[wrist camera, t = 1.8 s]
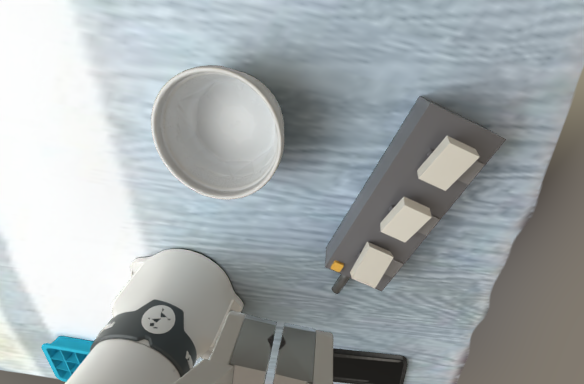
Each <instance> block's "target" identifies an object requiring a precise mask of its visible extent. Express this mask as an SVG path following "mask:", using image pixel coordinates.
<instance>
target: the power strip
mask: <svg viewBox="0 0 584 384" xmlns="http://www.w3.org/2000/svg"><path fill="white" fill-rule="evenodd" d="M446 136H449V137H451V138H453V139H456V140H458V141H460V142H462V143H464V144H466V145H468V146H470V147H472V148H474V149H476V151H477V153H478V155H479V158H478V159H477V160H476V161H475V162H474V163H473V164H472V165H471V166H470V167H469V168H468V169H467V170H466V171H465V172H464V173H463V174H462V175H461V176H460V177H459V178H458V179H457V180H456V181H455V182H454V183H453V184H452V185H451V186H450V187H449V188H448V189H447V190H446V191H444V190H442V189H440V188H438V187H436V186H433V185H431V184H429V183H427V182H425V181H423V180H421V179H418V174H417V170H418V169H419V168H420V166H421V165H422V164H423V163H424V162H425V161H426V159H427V158H428V157H429V156H430V155H431V154H432V152H433V151H434V150H435V149H436V148H437V147H438V145H439V144H440V143H441V142H442V141H443V139H444V138H445V137H446ZM505 140H506V139H504V138H502V137H501V136H499V135H497V134H495V133H493V132H492V131H490V130H488V129H486V128H484V127H482V126H480V125H478V124H476V123H474V122H472V121H470V120H468V119H466V118H464V117H461V116H459V115H457V114H455V113H453V112H451V111H449V110H447V109H445V108H443V107H441V106H439V105H437V104H434V103H432V102H430V101H428V100H426V99H424V98H422V97H420V96H419V98H418V100H417V101H416V103H415V104H414V106H413V108H412V109H411V111H410V113H409V114H408V116H407V117H406V119H405V121H404V122H403V124H402V125H401V127H400V129H399V130H398V132H397V134H396V135H395V137H394V138H393V140H392V142H391V143H390V145H389V147H388V148H387V150H386V151H385V153H384V155H383V156H382V158H381V159H380V161H379V163H378V164H377V166H376V168H375V169H374V171H373V172H372V174H371V176H370V177H369V179H368V180H367V182H366V184H365V185H364V187H363V189H362V190H361V192H360V193H359V195H358V197H357V198H356V200H355V202H354V203H353V205H352V206H351V208H350V210H349V211H348V213H347V214H346V216H345V218H344V219H343V221H342V223H341V224H340V226H339V227H338V229H337V231H336V232H335V234H334V235H333V237H332V239H331V240H330V242H329V244H328V245H327V247H326V258H325V267H326V268H329V269H331V270H333V271H336V272H338V273H340V274H341V275H340V277H339V278H338V280H337V281H336V283H335V284H334V286H333V287H332V291H333V292H334V293H336V294H338V293H339V292H340V291H341V290H342V288H343V287H344V285H345V284H346V283H347V281H348V280H349V278H352V277H351V274H350V271H351V270H352V268H353V266H354V264H355V263H356V261H357V259H358V257H359V255H360V254H361V252H362V250H363V248H364V247H365V245H366V243H367V242H370V243H372V244H374V245H376V246H379V247H381V248H383V249H386V250H388V251H390V252H391V254H392V255H393V257H394V258H393V259H392V261H391V263H390V264H389V266H388V268H387V269H386V271H385V273H384V274H383V276H382V278H381V279H380V281H379V283H378V284H377V286H376V288H375V289H378V290H380V291H382V290H383V289H384V288H385V287H386V285H387V284H388V283H389V282H390V281H391V279H392V278H393V277H394V276H395V274H396V273H397V272H398V271H399V270H400V268H401V267H402V266H403V265H404V263H405V262H406V261H407V260H408V259H409V257H410V256H411V255H412V254H413V252H414V251H415V250H416V249H417V248H418V246H419V245H420V244H421V243H422V241H423V240H424V239H425V238H426V237H427V235H428V234H429V233H430V232H431V230H432V229H433V228H434V227H435V225H436V224H437V223H438V222H439V221H440V219H441V218H442V217H443V216H444V214H445V213H446V212H447V211H448V210H449V208H450V207H451V206H452V205H453V203H454V202H455V201H456V200H457V199H458V197H459V196H460V195H461V194H462V192H463V191H464V190H465V189H466V188H467V186H468V185H469V184H470V183H471V181H472V180H473V179H474V178H475V177H476V175H477V174H478V173H479V172H480V170H481V169H482V168H483V167H484V166H485V164H486V163H487V162H488V161H489V159H490V158H491V157H492V156H493V155H494V153H495V152H496V151H497V150H498V148H499V147H500V146H501V145H502V144H503V142H504V141H505ZM403 197H406V198H408V199H411V200H413V201H415V202H417V203H419V204H422V205H424V206H426V207H428V208H430V212H431V217H432V218H431V219H429V220H428V221H427V222H426V223H425V224H424V225H423V226H422V227H421V228H420V229H419V230H418V231H417V232H416V233H415V234H414V235H413V236H412V237H411V238H410V239H409V240H407V241H406V242H403V241H400V240H398V239H396V238H394V237H391V236H389V235H387V234H385V233H382V232H381V228H380V223H381V222H382V220H383V219H384V218H385V217H386V216H387V215H388V214H389V213H390V211H391V210H392V209H393V208H394V207H395V206H396V205H397V203H398V202H399V201H400V200H401V199H402V198H403Z"/></svg>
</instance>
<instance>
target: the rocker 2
mask: <svg viewBox="0 0 584 384" xmlns="http://www.w3.org/2000/svg"><path fill="white" fill-rule="evenodd" d="M431 218H432V217H431V212H430V208H428V207H426V206H424V205H422V204H419V203H417V202H415V201H413V200H411V199H408V198H406V197H403V198H402V199H401V200H400V201H399V202H398V203H397V205H396V206H395V207H394V208H393V209H392V210H391V211H390V213H389V214H388V215H387V216H386V217H385V218H384V219H383V220H382V222H381V223H380V228H381V232H382V233H385V234H387V235H389V236H391V237H394V238H396V239H398V240H400V241H403V242H406V241H407V240H409V239H410V238H411V237H412V236H413V235H414V234H415V233H416V232H417V231H418V230H419V229H420V228H421V227H422V226H423V225H424V224H425V223H426V222H427V221H428V220H429V219H431Z"/></svg>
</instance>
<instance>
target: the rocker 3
mask: <svg viewBox="0 0 584 384" xmlns="http://www.w3.org/2000/svg"><path fill="white" fill-rule="evenodd" d="M478 158H479V155H478V153H477V151H476V149H474V148H472V147H470V146H468V145H466V144H464V143H462V142H460V141H458V140H456V139H453V138H451V137H449V136H446V137H445V138H444V139H443V141H442V142H441V143H440V144H439V145H438V147H437V148H436V149H435V150H434V151H433V152H432V154H431V155H430V156H429V157H428V158H427V159H426V161H425V162H424V163H423V164H422V165H421V166H420V168H419V169H418V170H417V174H418V179H421V180H423V181H425V182H427V183H429V184H431V185H433V186H436V187H438V188H440V189H442V190H444V191H446V190H447V189H448V188H449V187H450V186H451V185H452V184H453V183H454V182H455V181H456V180H457V179H458V178H459V177H460V176H461V175H462V174H463V173H464V172H465V171H466V170H467V169H468V168H469V167H470V166H471V165H472V164H473V163H474V162H475V161H476V160H477V159H478Z"/></svg>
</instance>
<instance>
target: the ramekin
mask: <svg viewBox="0 0 584 384" xmlns="http://www.w3.org/2000/svg"><path fill="white" fill-rule="evenodd" d="M151 129H152V136H153V140H154V143H155V146H156V149H157V151H158V153H159V155H160V157H161V159H162V161H163V162H164V164H165V165H166V167H167V168H168V169H169V171H170V172H171V173H172V174H173V175H174V176H175V177H176V178H177V179H178V180H179V181H180V182H181V183H183V184H184V185H185V186H187V187H188V188H190V189H192V190H193V191H195V192H197V193H199V194H202V195H204V196H207V197H211V198H216V199H237V198H242V197H245V196H248V195H250V194H252V193H254V192H256V191H258V190H259V189H260V188H262V187H263V186H264V185H265V184H266V183H267V182H268V181H269V180H270V179H271V177H272V176H273V174H274V173H275V171H276V169H277V168H278V166H279V164H280V161H281V158H282V155H283V150H284V121H283V115H282V112H281V108H280V106H279V104H278V102H277V100H276V99H275V96H274V95H273V94H272V93H271V91H270V90H269V89H268V88H267V87H266V86H265V85H264V84H263V83H261V82H260V80H258V79H255V78H254V77H253V76H251V75H248V74H246V73H244V72H240V71H237V70H234V69H231V68H227V67H223V66H212V65H208V66H199V67H195V68H191V69H188V70H185V71H183V72H181V73H179V74H177V75H176V76H174V77H173V78H171V79H170V80H169V81H168V82H167V83H166V84H165V85H164V86H163V88H162V89H161V90H160V92H159V94H158V95H157V97H156V100H155V102H154V105H153V109H152V114H151Z"/></svg>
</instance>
